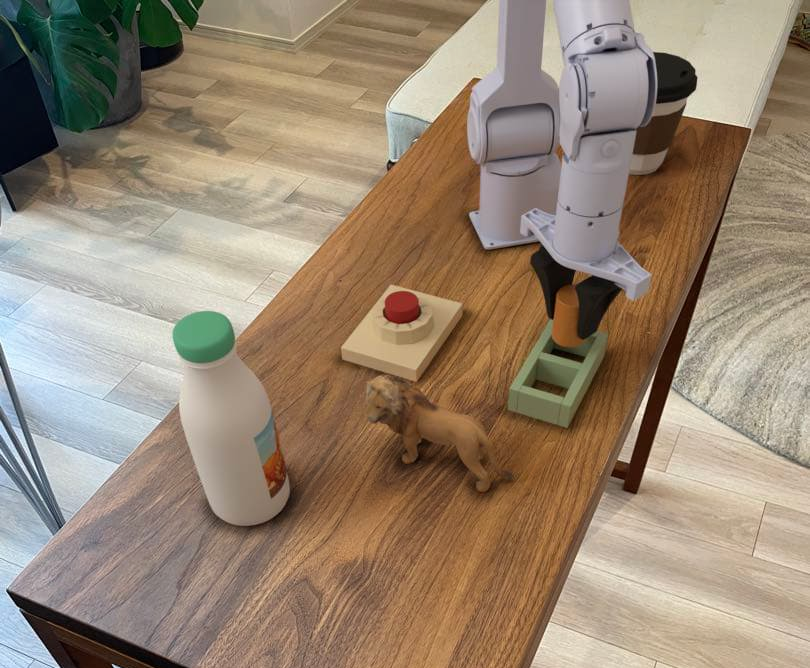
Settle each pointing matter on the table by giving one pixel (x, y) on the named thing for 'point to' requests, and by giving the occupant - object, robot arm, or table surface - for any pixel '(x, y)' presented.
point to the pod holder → (556, 378)
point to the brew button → (401, 307)
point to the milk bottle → (228, 423)
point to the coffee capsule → (566, 318)
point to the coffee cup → (663, 112)
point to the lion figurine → (428, 424)
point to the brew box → (402, 336)
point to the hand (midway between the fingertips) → (572, 324)
